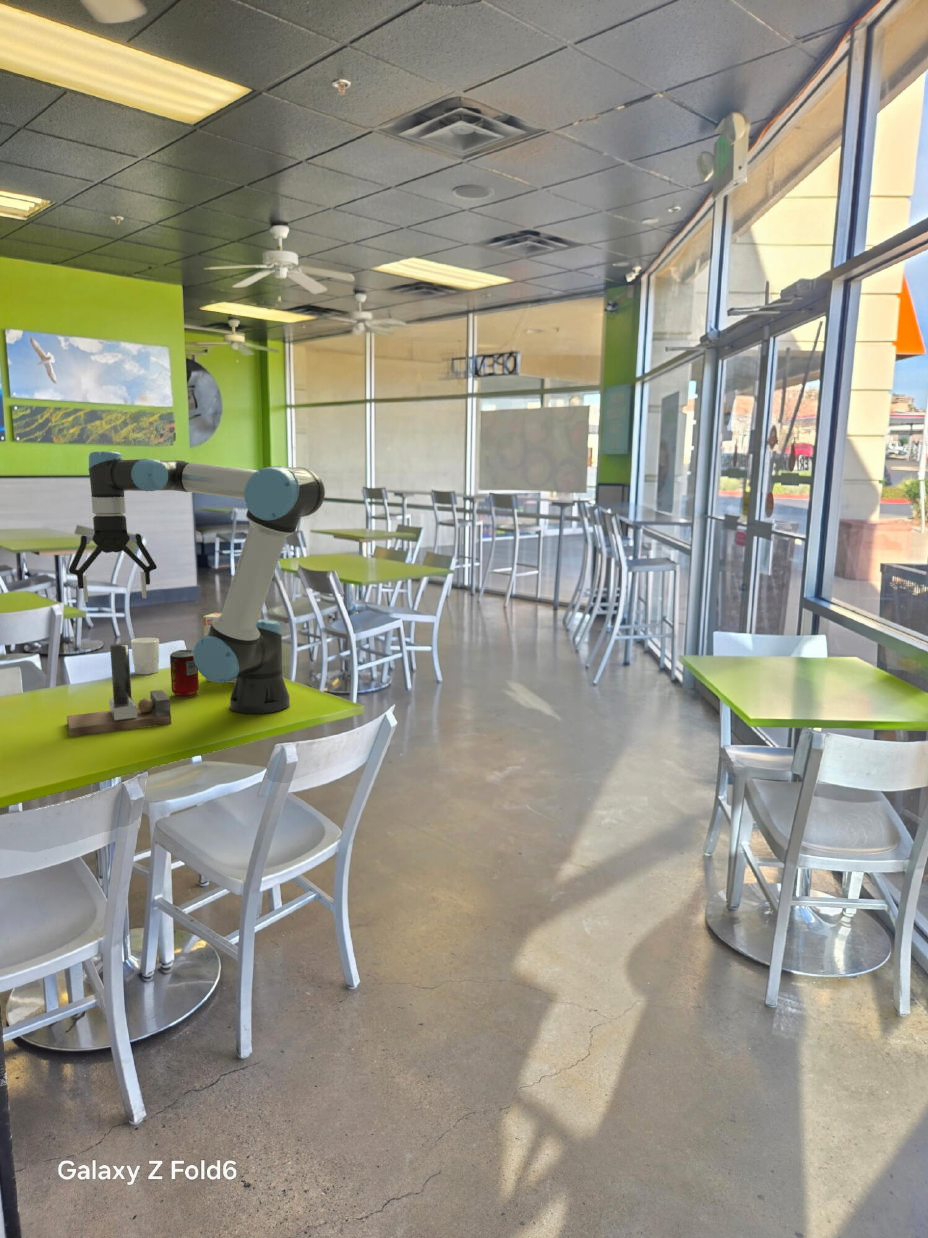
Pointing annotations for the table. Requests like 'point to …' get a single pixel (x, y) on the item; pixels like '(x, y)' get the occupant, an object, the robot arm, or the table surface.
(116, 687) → the post
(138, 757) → the table surface
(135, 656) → the white cup
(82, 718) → the nutcracker bench
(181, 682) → the soda can
